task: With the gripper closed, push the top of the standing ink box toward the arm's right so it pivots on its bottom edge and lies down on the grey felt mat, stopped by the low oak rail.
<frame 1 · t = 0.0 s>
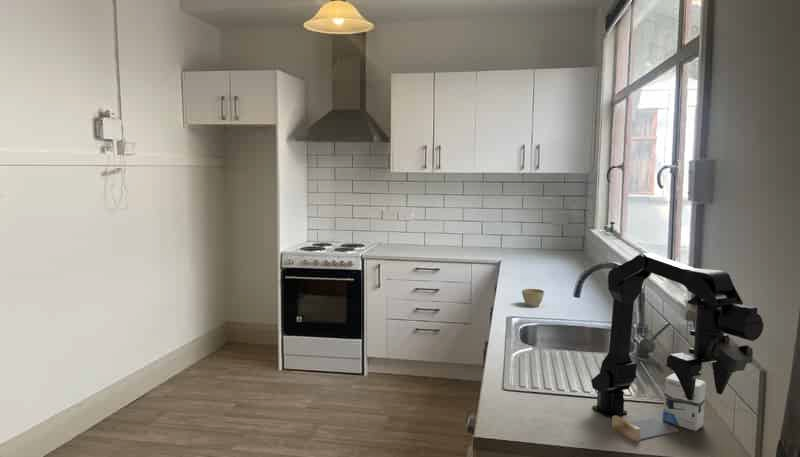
hand: (704, 396, 132), 15 cm above the worktop, fingers open, 9 cm apart
ink box: (682, 424, 152), on the worktop
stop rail: (625, 433, 146), on the worktop
flower pot: (532, 306, 277), on the worktop
felt mat: (647, 428, 149), on the worktop
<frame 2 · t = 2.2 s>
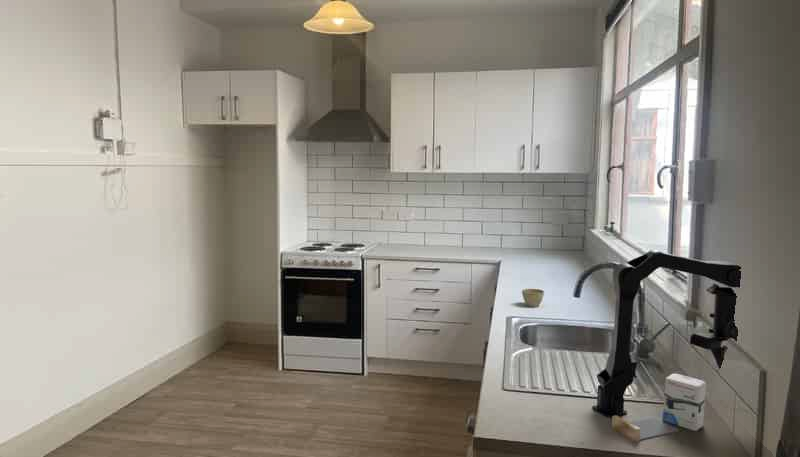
hand: (722, 369, 155), 13 cm above the worktop, fingers closed
nothing on the worktop moved.
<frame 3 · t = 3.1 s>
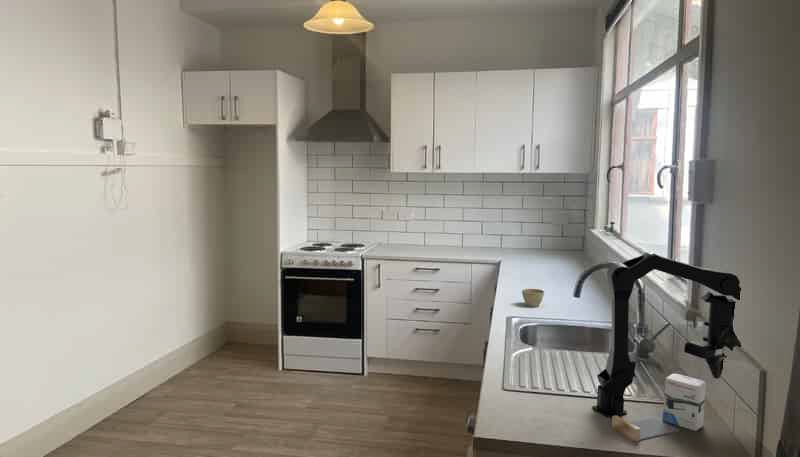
hand: (716, 378, 154), 11 cm above the worktop, fingers closed
nothing on the worktop moved.
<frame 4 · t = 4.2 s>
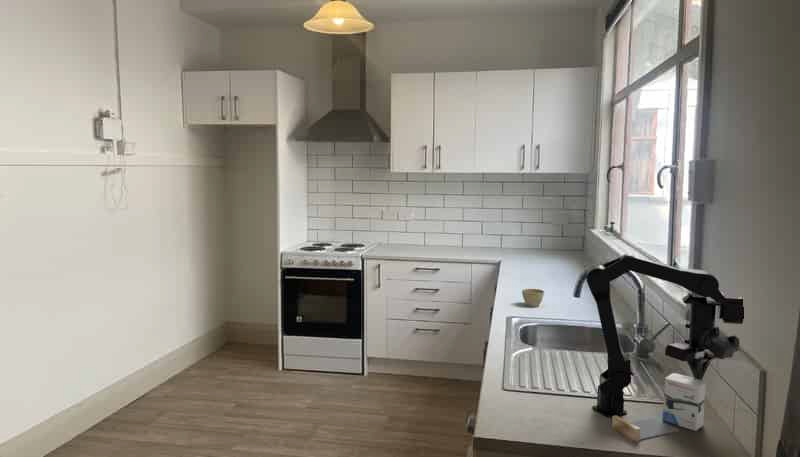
hand: (698, 381, 152), 11 cm above the worktop, fingers closed
ink box: (682, 423, 152), on the worktop, touching gripper
everything else where it was.
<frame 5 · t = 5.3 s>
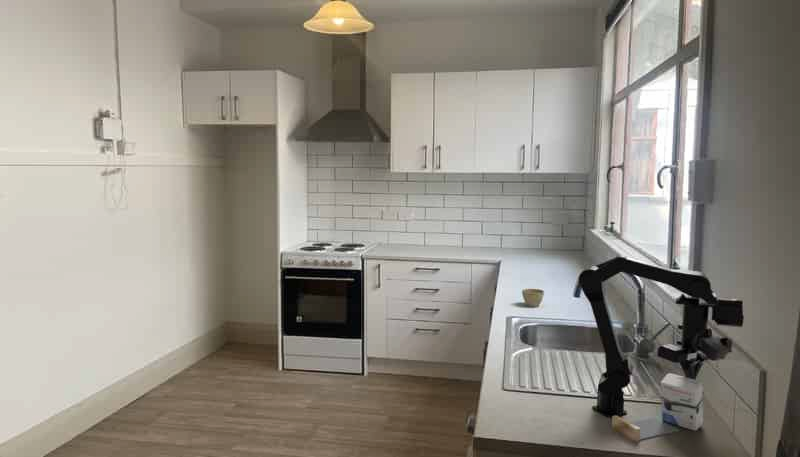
hand: (690, 382, 151), 11 cm above the worktop, fingers closed
ink box: (682, 421, 152), on the worktop
everything else where it was.
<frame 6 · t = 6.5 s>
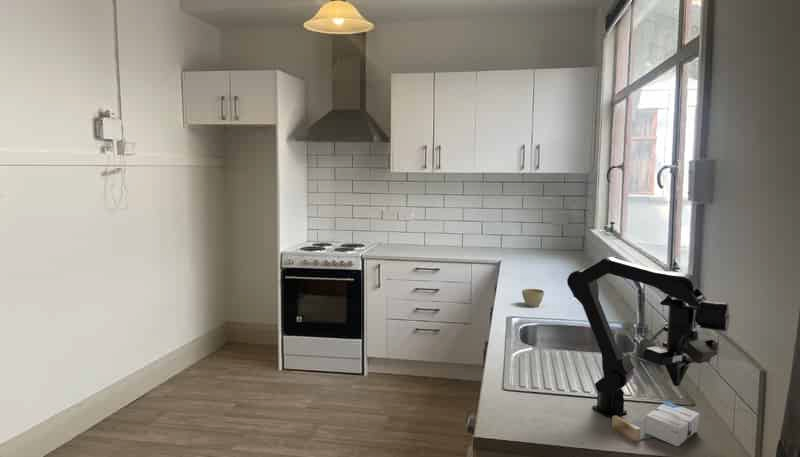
hand: (676, 385, 149), 11 cm above the worktop, fingers closed
ink box: (681, 415, 150), point 3 cm above the worktop, touching felt mat
everything else where it was.
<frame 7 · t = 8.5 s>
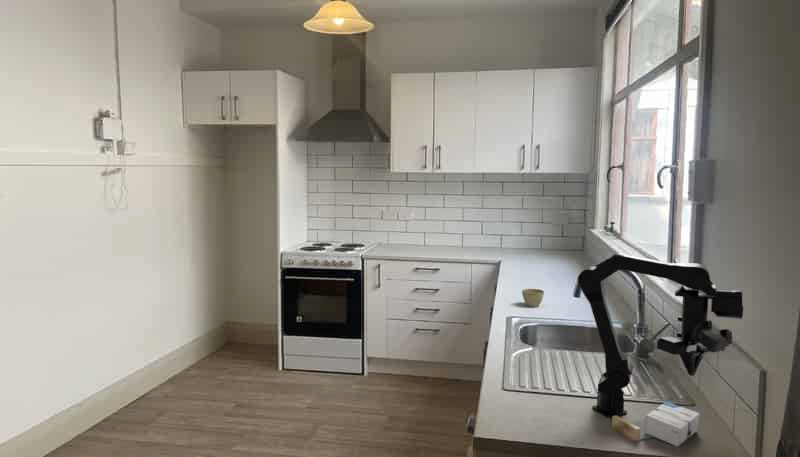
hand: (691, 375, 150), 13 cm above the worktop, fingers closed
nothing on the worktop moved.
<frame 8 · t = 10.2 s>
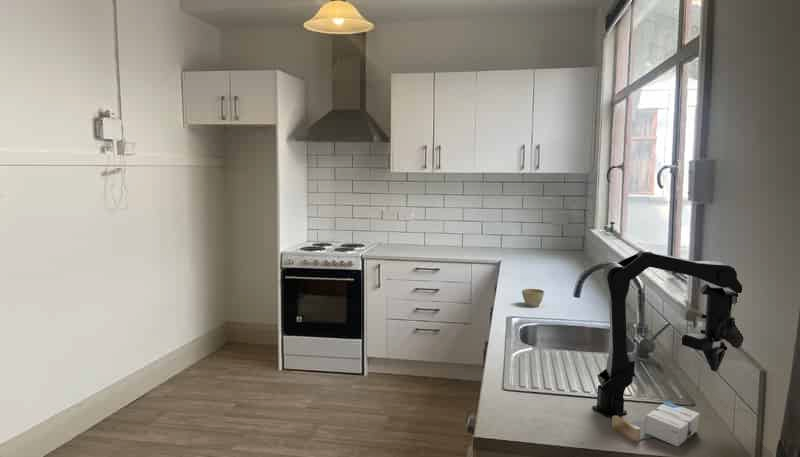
hand: (714, 370, 154), 13 cm above the worktop, fingers closed
nothing on the worktop moved.
at the end: ink box tilted 91°; ink box inside the target area (8.3 cm from its centre), point 2.9 cm above the worktop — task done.
